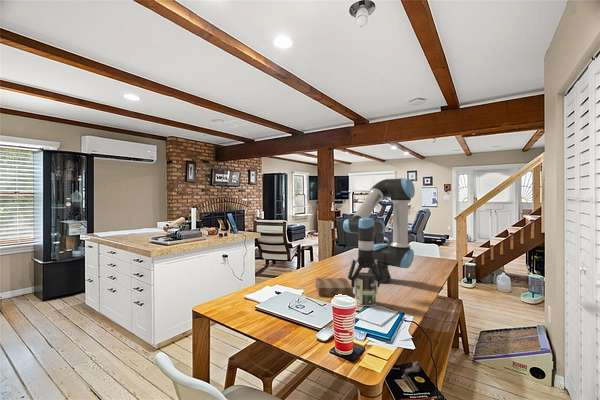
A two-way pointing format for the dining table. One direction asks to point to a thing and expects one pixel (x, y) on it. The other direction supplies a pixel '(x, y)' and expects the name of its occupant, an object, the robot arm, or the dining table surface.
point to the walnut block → (333, 286)
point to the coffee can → (365, 289)
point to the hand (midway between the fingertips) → (365, 293)
